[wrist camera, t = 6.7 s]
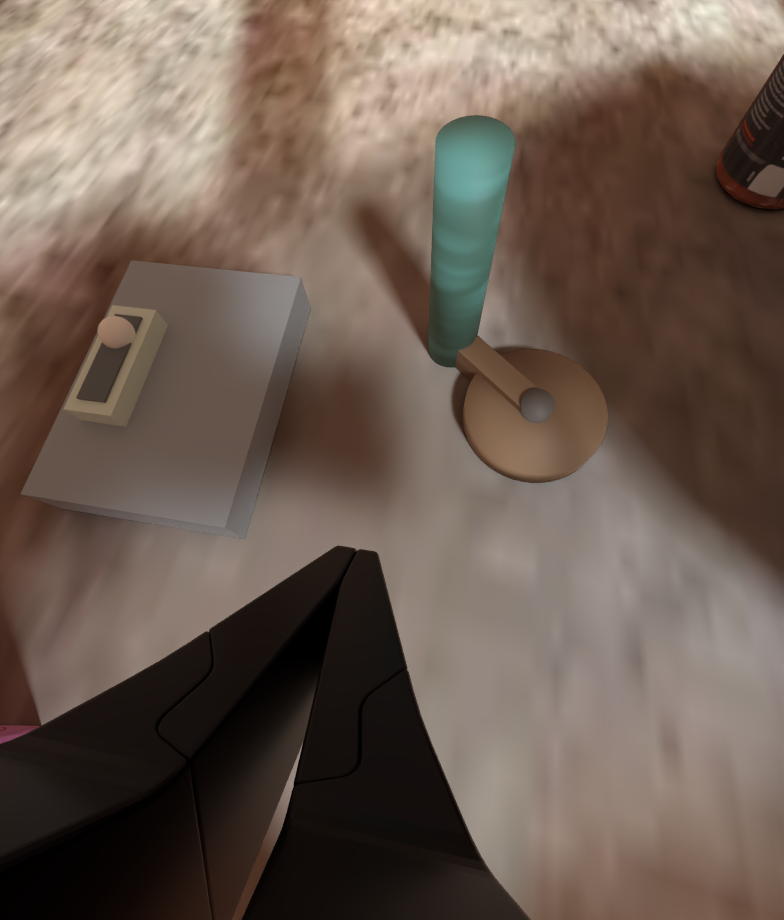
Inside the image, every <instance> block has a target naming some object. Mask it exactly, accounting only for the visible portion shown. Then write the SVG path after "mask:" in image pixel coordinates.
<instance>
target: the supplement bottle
mask: <svg viewBox="0 0 784 920" xmlns="http://www.w3.org/2000/svg"><path fill="white" fill-rule="evenodd" d="M716 175H717V178H718V180H719V182H720V184H721V186H722V187H723V188H724V189H725V190H726V191H727V192H728V193H729V194H730V195H731V196H733V197H734V198H735V199H737V200H739V201H741V202H743V203H745V204H747V205H750V206H752V207H757V208H763V209H781V208H784V55H783V56H782V58H781V59H780V61H779V63H778V64H777V66H776V67H775V69H774V70H773V72H772V74H771V75H770V77H769V78H768V80H767V81H766V83H765V84H764V86H763V88H762V89H761V91H760V92H759V94H758V96H757V97H756V99H755V100H754V102H753V103H752V105H751V107H750V108H749V110H748V111H747V113H746V114H745V116H744V117H743V119H742V120H741V122H740V124H739V125H738V127H737V128H736V130H735V132H734V133H733V135H732V136H731V138H730V139H729V141H728V143H727V145H726V146H725V148H724V150H723V151H722V153H721V154H720V156H719V158H718V161H717V164H716Z"/></svg>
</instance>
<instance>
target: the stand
mask: <svg viewBox="0 0 784 920" xmlns="http://www.w3.org/2000/svg"><path fill="white" fill-rule="evenodd" d="M310 309H311V307H310V304H309V301H308V298H307V295H306V292H305V289H304V286H303V282H302V279H301V277H293V276H283V275H273V274H263V273H253V272H243V271H233V270H223V269H213V268H204V267H194V266H184V265H174V264H164V263H154V262H144V261H134V260H131V262H130V264H129V266H128V268H127V270H126V272H125V275H124V277H123V279H122V281H121V283H120V285H119V287H118V289H117V291H116V294H115V296H114V298H113V300H112V302H111V304H110V306H109V308H108V310H107V312H106V315H105V317H104V319H103V320H102V321H101V322H100V324H99V326H98V331H97V334H96V336H95V338H94V340H93V342H92V344H91V346H90V348H89V350H88V353H87V355H86V357H85V359H84V361H83V363H82V365H81V367H80V369H79V372H78V374H77V376H76V378H75V380H74V382H73V384H72V386H71V388H70V391H69V393H68V395H67V397H66V399H65V401H64V403H63V405H62V407H61V410H60V412H59V414H58V416H57V418H56V420H55V422H54V424H53V426H52V429H51V431H50V433H49V435H48V437H47V439H46V441H45V443H44V445H43V447H42V450H41V452H40V454H39V456H38V458H37V460H36V462H35V464H34V466H33V469H32V471H31V473H30V475H29V477H28V479H27V481H26V483H25V485H24V488H23V490H22V492H21V495H24V496H27V497H30V498H33V499H35V500H38V501H41V502H44V503H47V504H49V505H52V506H55V507H58V508H61V509H67V510H73V511H79V512H85V513H91V514H97V515H103V516H109V517H115V518H121V519H127V520H133V521H139V522H145V523H151V524H157V525H163V526H169V527H175V528H181V529H187V530H193V531H199V532H205V533H211V534H217V535H223V536H229V537H235V538H241V539H245V537H246V533H247V530H248V526H249V523H250V519H251V516H252V512H253V509H254V505H255V502H256V498H257V495H258V491H259V488H260V484H261V481H262V477H263V474H264V470H265V467H266V463H267V460H268V456H269V453H270V449H271V446H272V442H273V439H274V435H275V432H276V428H277V425H278V421H279V418H280V414H281V411H282V407H283V404H284V400H285V397H286V393H287V390H288V386H289V383H290V379H291V376H292V372H293V369H294V365H295V362H296V358H297V355H298V351H299V348H300V344H301V341H302V337H303V334H304V330H305V327H306V323H307V320H308V316H309V312H310Z"/></svg>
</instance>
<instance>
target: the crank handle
mask: <svg viewBox="0 0 784 920" xmlns="http://www.w3.org/2000/svg"><path fill="white" fill-rule="evenodd" d="M515 143H516V141H515V136H514V134H513V132H512V131H511V129H510V128H509V127H508V126H507V125H506V124H504V123H503V122H501V121H499V120H497V119H494V118H491V117H487V116H477V115H475V116H465V117H461V118H458V119H455V120H453V121H451V122H449V123H448V124H446V125H445V126H444V127H443V128H442V129H441V130H440V131H439V133H438V135H437V137H436V145H435V172H434V198H433V225H432V251H431V278H430V304H429V331H428V352H429V355H430V357H431V358H432V359H433V360H434V361H435V362H436V363H437V364H439V365H441V366H444V367H456V368H457V369H458V370H459V371H460V372H461V373H462V374H463V375H464V376H465V377H466V378H468V379H469V380H470V381H471V382H470V385H469V387H468V389H467V393H466V397H465V402H464V407H463V427H464V432H465V435H466V438H467V440H468V442H469V444H470V446H471V448H472V449H473V451H474V452H475V454H476V455H477V456H478V457H479V458H480V459H481V461H483V462H484V463H485V464H486V465H487V466H488V467H490V468H491V469H493V470H494V471H496V472H497V473H499V474H501V475H503V476H506V477H508V478H511V479H514V480H518V481H522V482H530V483H543V482H551V481H554V480H558V479H561V478H564V477H566V476H568V475H570V474H572V473H573V472H575V471H576V470H578V469H579V468H580V467H581V466H582V465H583V464H584V463H585V462H586V461H587V460H588V459H589V458H590V457H591V456H592V455H593V454H594V453H595V452H596V451H597V449H598V448H599V446H600V445H601V443H602V441H603V439H604V437H605V434H606V430H607V425H608V410H607V404H606V401H605V398H604V395H603V393H602V391H601V389H600V387H599V385H598V384H597V382H596V381H595V380H594V378H593V377H592V376H591V375H590V374H589V373H588V372H587V371H586V370H585V369H584V368H583V367H581V366H580V365H579V364H577V363H576V362H574V361H572V360H571V359H569V358H567V357H564V356H562V355H560V354H557V353H554V352H550V351H545V350H538V349H523V350H515V351H511V352H507V353H505V354H502V355H499V354H498V353H497V352H496V351H495V350H494V349H492V348H491V347H490V346H489V345H488V344H487V343H486V342H484V341H483V340H482V339H481V338H480V337H479V336H478V335H477V334H478V329H479V324H480V319H481V314H482V309H483V304H484V299H485V294H486V289H487V284H488V279H489V274H490V269H491V264H492V259H493V254H494V249H495V244H496V239H497V234H498V229H499V224H500V219H501V214H502V209H503V204H504V199H505V194H506V189H507V184H508V179H509V174H510V169H511V164H512V159H513V154H514V149H515Z"/></svg>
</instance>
